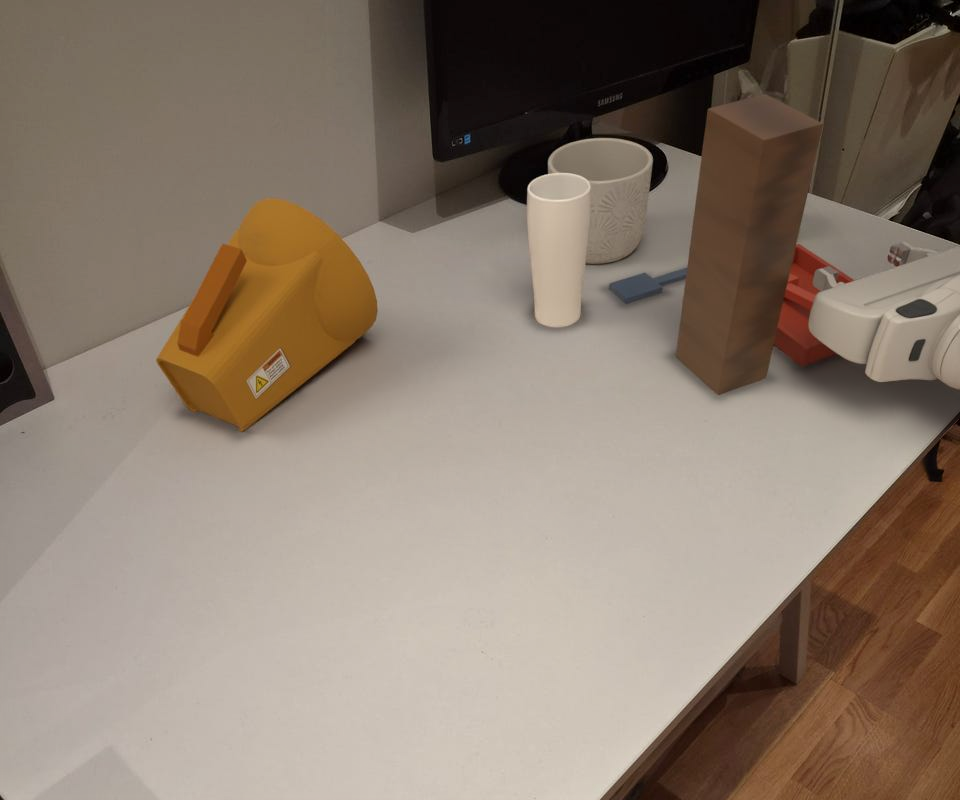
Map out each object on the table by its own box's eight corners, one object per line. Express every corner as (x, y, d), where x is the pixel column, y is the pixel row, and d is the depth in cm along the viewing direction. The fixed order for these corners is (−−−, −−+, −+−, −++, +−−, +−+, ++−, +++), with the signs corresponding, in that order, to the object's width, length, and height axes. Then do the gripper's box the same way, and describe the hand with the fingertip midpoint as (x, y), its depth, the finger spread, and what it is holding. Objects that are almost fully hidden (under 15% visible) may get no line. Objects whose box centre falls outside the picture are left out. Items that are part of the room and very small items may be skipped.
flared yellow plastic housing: (285, 310, 106) (221, 177, 90) (396, 347, 99) (346, 211, 84) (183, 428, 100) (95, 308, 84) (293, 476, 93) (220, 355, 78)
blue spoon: (608, 292, 104) (609, 283, 103) (727, 255, 108) (728, 246, 107) (625, 308, 102) (626, 298, 101) (746, 269, 106) (748, 260, 105)
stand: (720, 345, 96) (764, 93, 77) (765, 382, 91) (823, 123, 72) (674, 361, 95) (707, 108, 75) (717, 399, 90) (763, 140, 71)
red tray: (794, 264, 106) (798, 243, 104) (899, 335, 95) (906, 313, 93) (702, 293, 103) (705, 272, 101) (800, 370, 92) (805, 348, 90)
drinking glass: (596, 325, 100) (603, 191, 88) (543, 340, 99) (542, 206, 87) (571, 298, 104) (574, 166, 92) (519, 312, 103) (516, 180, 91)
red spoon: (770, 274, 104) (771, 264, 103) (873, 324, 92) (875, 313, 91) (742, 283, 103) (743, 273, 102) (843, 335, 91) (845, 324, 90)
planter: (638, 276, 106) (646, 184, 98) (539, 270, 109) (538, 179, 100) (650, 228, 114) (658, 138, 105) (557, 223, 116) (557, 135, 108)
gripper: (1059, 264, 80) (948, 205, 88) (880, 325, 75) (782, 258, 84) (1029, 326, 85) (927, 265, 93) (860, 387, 80) (769, 318, 89)
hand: (857, 262), depth 88 cm, fingers open, 8 cm apart
